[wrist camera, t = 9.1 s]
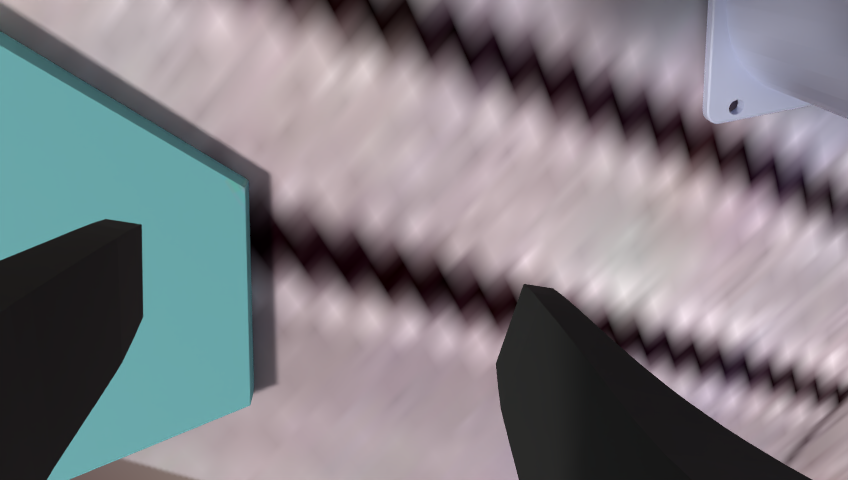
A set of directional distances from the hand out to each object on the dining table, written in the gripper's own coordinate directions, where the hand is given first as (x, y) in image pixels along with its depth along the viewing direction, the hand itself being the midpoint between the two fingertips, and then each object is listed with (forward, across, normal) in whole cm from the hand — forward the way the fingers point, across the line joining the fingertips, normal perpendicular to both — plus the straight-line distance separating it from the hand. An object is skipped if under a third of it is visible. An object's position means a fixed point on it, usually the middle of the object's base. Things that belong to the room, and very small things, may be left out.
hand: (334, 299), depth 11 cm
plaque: (+11, +12, +8) cm, 18 cm away
